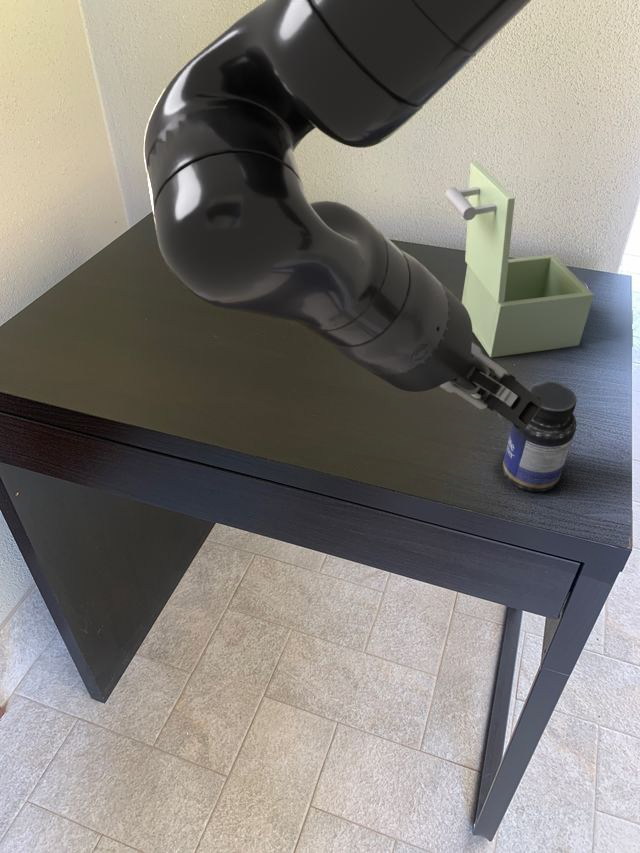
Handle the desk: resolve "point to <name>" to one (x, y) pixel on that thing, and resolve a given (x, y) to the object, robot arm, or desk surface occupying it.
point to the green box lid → (486, 228)
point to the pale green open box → (529, 307)
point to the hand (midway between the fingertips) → (485, 388)
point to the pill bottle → (542, 440)
